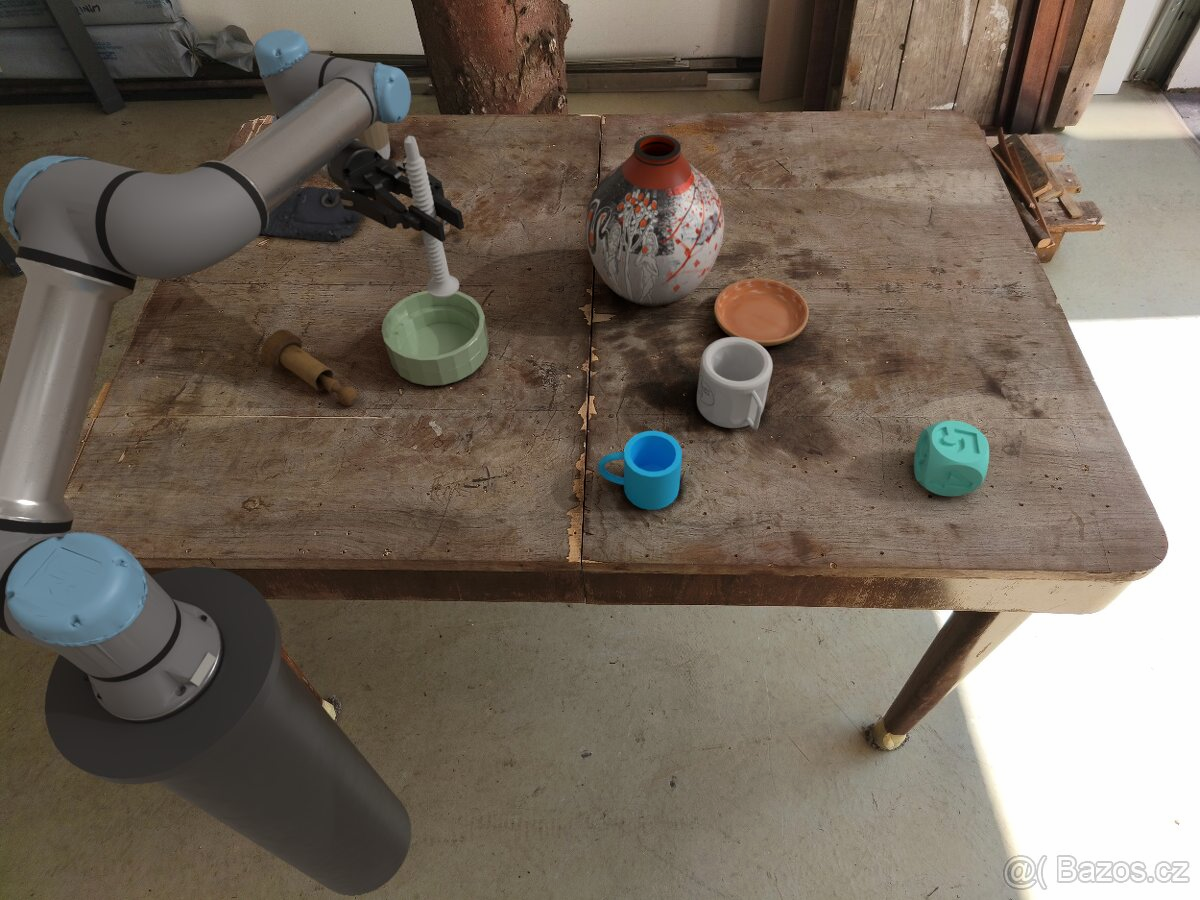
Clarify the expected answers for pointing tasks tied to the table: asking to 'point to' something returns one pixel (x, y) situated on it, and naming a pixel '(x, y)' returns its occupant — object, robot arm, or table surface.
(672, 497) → the mug
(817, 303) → the table surface
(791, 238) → the table surface
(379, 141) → the coffee cup
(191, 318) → the table surface
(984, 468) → the decorative dice
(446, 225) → the vase
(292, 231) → the dark slate chunk
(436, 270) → the screw
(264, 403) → the table surface
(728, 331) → the saucer
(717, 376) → the mug
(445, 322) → the bowl
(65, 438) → the robot arm
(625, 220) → the vase
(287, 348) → the mortar and pestle
